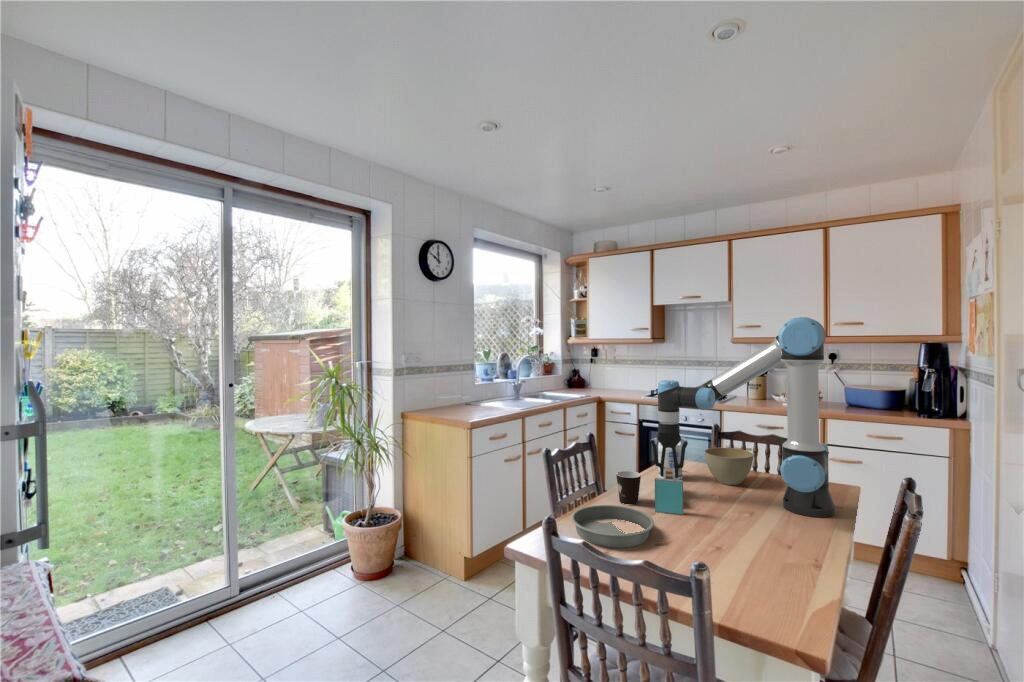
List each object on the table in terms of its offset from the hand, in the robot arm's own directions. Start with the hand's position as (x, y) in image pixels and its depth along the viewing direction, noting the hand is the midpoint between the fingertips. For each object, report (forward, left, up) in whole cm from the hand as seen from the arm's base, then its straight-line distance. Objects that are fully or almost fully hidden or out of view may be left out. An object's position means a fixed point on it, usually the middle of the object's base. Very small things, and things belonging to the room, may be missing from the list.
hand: (669, 485), depth 177 cm
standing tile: (-10, +14, -4) cm, 17 cm away
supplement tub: (+14, -19, -4) cm, 25 cm away
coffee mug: (+6, +16, -4) cm, 17 cm away
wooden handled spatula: (-1, +2, -1) cm, 2 cm away
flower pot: (-3, -33, -4) cm, 34 cm away
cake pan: (-10, +41, -5) cm, 42 cm away
